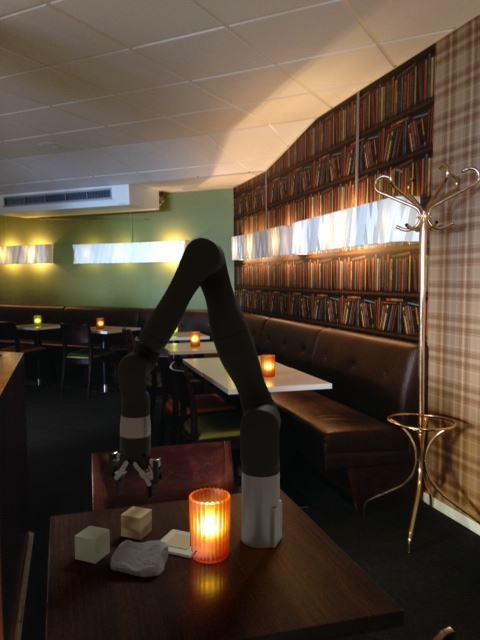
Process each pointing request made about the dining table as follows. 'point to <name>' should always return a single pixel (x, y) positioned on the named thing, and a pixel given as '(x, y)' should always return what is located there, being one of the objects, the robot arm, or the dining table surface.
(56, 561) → the dining table surface
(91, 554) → the sage green cube
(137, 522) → the maple cube
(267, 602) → the dining table surface
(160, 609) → the dining table surface
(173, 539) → the card
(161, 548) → the stone block
